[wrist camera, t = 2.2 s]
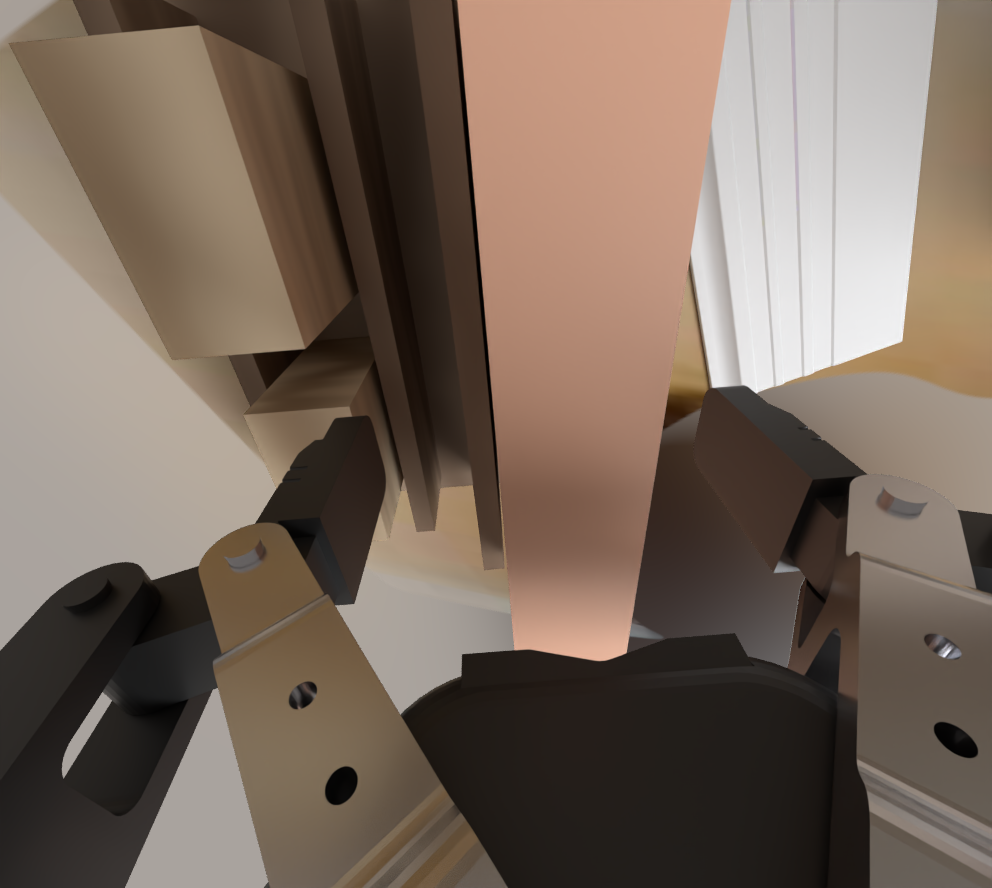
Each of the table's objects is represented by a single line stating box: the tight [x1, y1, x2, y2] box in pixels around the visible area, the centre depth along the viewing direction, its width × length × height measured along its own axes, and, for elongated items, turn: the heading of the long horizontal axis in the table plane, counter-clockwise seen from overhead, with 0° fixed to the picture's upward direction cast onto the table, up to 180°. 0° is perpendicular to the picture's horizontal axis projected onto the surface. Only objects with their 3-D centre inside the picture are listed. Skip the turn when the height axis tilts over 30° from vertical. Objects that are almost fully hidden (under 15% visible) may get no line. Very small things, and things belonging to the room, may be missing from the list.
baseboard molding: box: [689, 0, 938, 393], centre depth 18 cm, size 31×3×12 cm
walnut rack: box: [73, 0, 504, 570], centre depth 19 cm, size 16×24×10 cm, turn 4°
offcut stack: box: [9, 25, 404, 541], centre depth 18 cm, size 4×17×10 cm, turn 4°
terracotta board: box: [457, 0, 731, 661], centre depth 14 cm, size 2×20×18 cm, turn 4°
